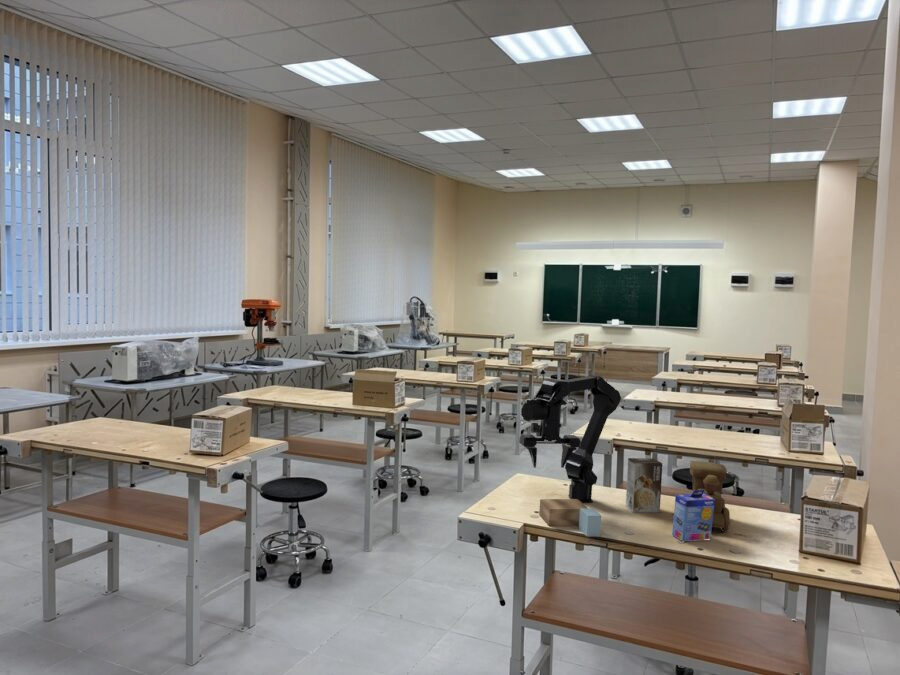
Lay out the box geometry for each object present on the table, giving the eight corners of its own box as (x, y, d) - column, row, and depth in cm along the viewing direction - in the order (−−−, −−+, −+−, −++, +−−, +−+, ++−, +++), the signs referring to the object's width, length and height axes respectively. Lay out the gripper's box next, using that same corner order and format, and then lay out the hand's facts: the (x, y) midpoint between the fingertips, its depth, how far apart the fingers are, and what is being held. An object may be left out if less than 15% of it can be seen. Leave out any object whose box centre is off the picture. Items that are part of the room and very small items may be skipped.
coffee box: (651, 506, 204) (655, 458, 203) (660, 513, 197) (663, 463, 196) (624, 506, 203) (627, 457, 202) (632, 512, 196) (635, 462, 196)
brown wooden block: (576, 514, 192) (577, 498, 191) (587, 525, 183) (588, 508, 183) (539, 515, 190) (540, 499, 189) (548, 526, 181) (549, 509, 181)
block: (592, 508, 180) (601, 515, 175) (591, 528, 181) (600, 536, 175) (579, 508, 180) (588, 515, 174) (578, 528, 180) (586, 536, 174)
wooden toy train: (684, 509, 202) (687, 459, 201) (721, 514, 199) (725, 463, 198) (688, 530, 183) (692, 475, 182) (730, 536, 180) (735, 480, 179)
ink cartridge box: (683, 543, 173) (687, 491, 172) (670, 535, 178) (674, 485, 177) (712, 540, 176) (716, 490, 175) (699, 533, 181) (703, 484, 180)
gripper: (570, 414, 207) (567, 461, 208) (516, 413, 204) (513, 460, 204) (582, 421, 196) (579, 470, 197) (525, 420, 193) (522, 470, 193)
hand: (548, 467), depth 198 cm, fingers open, 9 cm apart
